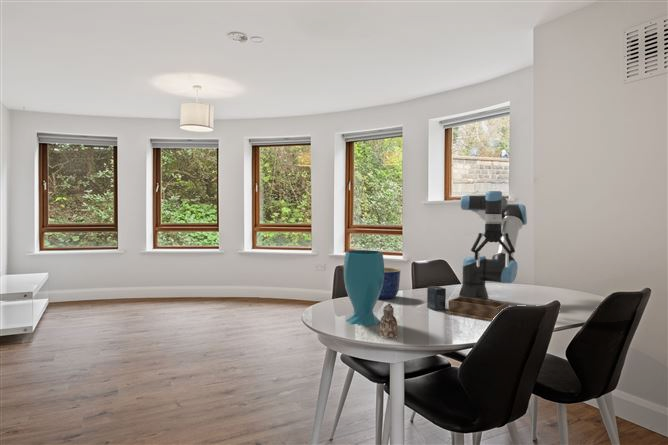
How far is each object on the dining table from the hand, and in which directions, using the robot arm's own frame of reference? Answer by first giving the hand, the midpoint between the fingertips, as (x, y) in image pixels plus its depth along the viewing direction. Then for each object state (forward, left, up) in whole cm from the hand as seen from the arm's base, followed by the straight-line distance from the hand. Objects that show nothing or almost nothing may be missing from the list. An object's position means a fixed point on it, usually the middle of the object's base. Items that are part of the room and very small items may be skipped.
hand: (492, 266), depth 217 cm
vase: (-34, -60, -21) cm, 71 cm away
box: (-21, -18, -21) cm, 34 cm away
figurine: (-14, -71, -21) cm, 75 cm away
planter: (-55, -12, -21) cm, 60 cm away
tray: (-1, -16, -21) cm, 26 cm away
